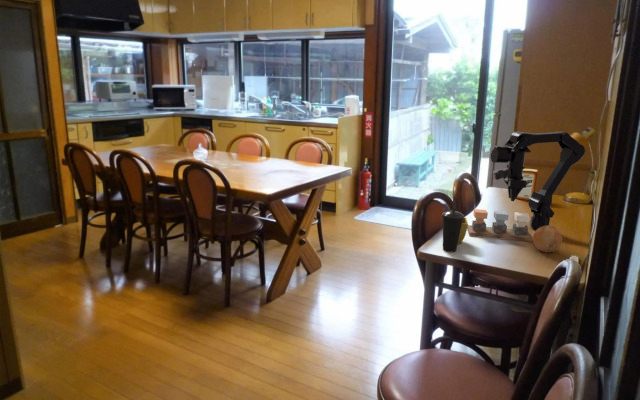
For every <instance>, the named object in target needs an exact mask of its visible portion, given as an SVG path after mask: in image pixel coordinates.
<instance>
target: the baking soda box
mask: <svg viewBox="0 0 640 400" xmlns="http://www.w3.org/2000/svg"><path fill="white" fill-rule="evenodd" d="M538 172H539V170H538V169H533V168H524V169H523V173H522V176H523V180H524V181H525V182H526V183H527V185H526V188H523V189H522V190H521V191H520V193H519V194H518V196H517V197H516V199H515V200H522V201H523V200H525V201H529V198H530V197H531V196H532V194H533V192H534V191H536V186H537V185H536V184H537V178H538V174H539V173H538Z"/></svg>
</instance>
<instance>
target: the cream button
mask: <svg viewBox="0 0 640 400" xmlns="http://www.w3.org/2000/svg"><path fill="white" fill-rule="evenodd" d="M513 217H514V218H513V219H514V221H516V223H515V224H516V226H517V227H523V228H525V225H526V223H530V221H531V216H530V215H529V213H527V212H518V211H517V212H516V211H515V212H514V216H513Z"/></svg>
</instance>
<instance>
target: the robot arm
mask: <svg viewBox="0 0 640 400" xmlns="http://www.w3.org/2000/svg"><path fill="white" fill-rule="evenodd" d="M544 143H545V144H547V143H557V144H558V147H560V148H561V151H560V155H559V161H558V163H557V164H556V165H555V167H554V169H553V170H552V172H551V174H550V176H549V177H548V179H547V180H546V182H545V183H544V184H543V187H542V188H541V189H540V190H539V191H536V190H535V191H534V192H533V194H532V196H531V197H530V198H529V200H528V203H527V204H528V207H529V208H530V212H531V213H532V216H530V221H529V223H530V224H529V225H530V228H531V229H532V230H534V231H536V230H537V229H538V228H540V227H542V226H548V225H550V221H551V218H553V217H554V216H555V211H554V210H553V209H552V208H551V206H552V203H553V195H554V194H555V192H556V190H557V189H558V188H559V186H560V184H561V183H562V181H563V180H564V178H565V176H566V175H567V173H568V172H569V170H570V169H571V167H572V166H573V165H575V164H577V163H578V162H579V161H580V160H581V159H582V158H583V157H584V156H585V154H586V150H585V149H586V148H585V145H583V144H581V143H579V142H578V141H577V140H576V139H575V138H573V137H572V136H571V135H570V134H569V133H568V132H566V131H561V130H559V131H552V132H535V133H530V132H526V131H525V132H523V131H513V132H512V133H511V134H510V137H509V138H508V139H507V140H506V141H505V143H504V144H503V145H502V146H501V145H494V147H493V149H492V151H491V152H490V159H491V160H490V161H491V162H492V163H494V164H497V163H498V164H500V163H501V164H506V167H503V168H499V169H495V170H493V171H492V173H493V177H494V179H495V180H496V181H499V180H501V179H503V182H504V183H505V184H506V185H507V186H506V187H507V194H508V199H510V201H511V202H514V201H515V200H517V199H516V197H517V196H518V194H519V193H520V191H521V190H522V189H523V188H526V185H527V183H526V182H525V181H524V180H523V176H522V173H523V169H526V168H525V167H526V166H524V165H525V160H526V159H525V157H526V153H532V151H531V150H530V149H529V147H531V146H533V145H535V144H544Z"/></svg>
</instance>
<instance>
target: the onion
mask: <svg viewBox="0 0 640 400" xmlns="http://www.w3.org/2000/svg"><path fill="white" fill-rule="evenodd" d="M532 237H533V241H532V242H533V244H534V246H535V248H537V250H540V252H544V253H552V252H555V251H557V250H558V249H559V248H560V247H561V246H562V243H563V235H562V233H561V232H560V231H559V229H557V227H556V226H554V225H550V224H549V225H548V226H542V227H540V228H538V229H537V230H534V232H533V235H532Z"/></svg>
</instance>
